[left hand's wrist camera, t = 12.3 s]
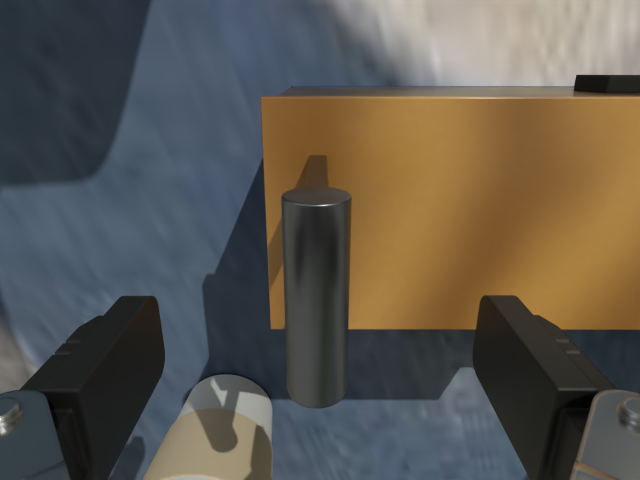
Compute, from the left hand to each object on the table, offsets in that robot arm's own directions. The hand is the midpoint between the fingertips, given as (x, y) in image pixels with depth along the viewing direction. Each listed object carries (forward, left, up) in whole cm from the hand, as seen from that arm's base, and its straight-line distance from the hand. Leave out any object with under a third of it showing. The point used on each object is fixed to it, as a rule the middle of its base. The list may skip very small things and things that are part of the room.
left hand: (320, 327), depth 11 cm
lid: (-5, +5, -9) cm, 11 cm away
